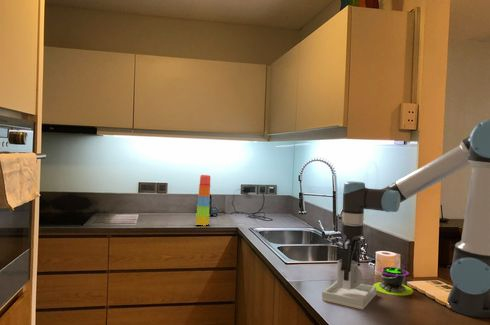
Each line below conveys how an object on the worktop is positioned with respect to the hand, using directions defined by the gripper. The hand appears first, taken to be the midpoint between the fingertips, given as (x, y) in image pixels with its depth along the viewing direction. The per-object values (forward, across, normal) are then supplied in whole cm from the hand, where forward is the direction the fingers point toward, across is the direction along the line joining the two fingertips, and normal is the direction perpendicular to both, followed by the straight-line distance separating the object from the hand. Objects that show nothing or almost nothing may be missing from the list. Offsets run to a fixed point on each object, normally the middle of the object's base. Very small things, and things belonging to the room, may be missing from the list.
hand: (349, 285), depth 151 cm
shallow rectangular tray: (+4, 0, 0) cm, 4 cm away
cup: (0, 0, 0) cm, 1 cm away
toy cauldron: (+5, -20, +11) cm, 23 cm away
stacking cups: (+5, -75, -126) cm, 147 cm away
